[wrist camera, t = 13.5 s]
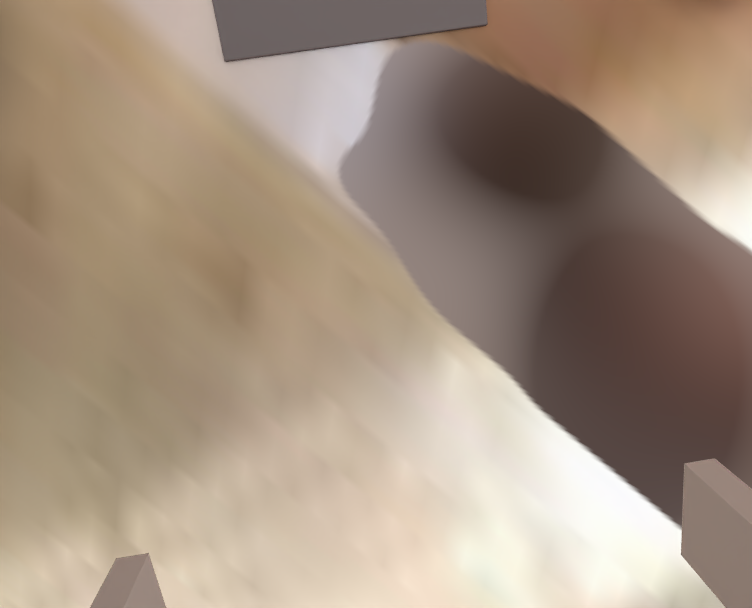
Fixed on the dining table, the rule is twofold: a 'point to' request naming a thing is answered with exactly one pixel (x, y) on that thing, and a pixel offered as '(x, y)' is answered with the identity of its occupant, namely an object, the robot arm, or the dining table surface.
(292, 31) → the mat
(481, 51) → the dining table surface
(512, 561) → the dining table surface
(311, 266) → the dining table surface
